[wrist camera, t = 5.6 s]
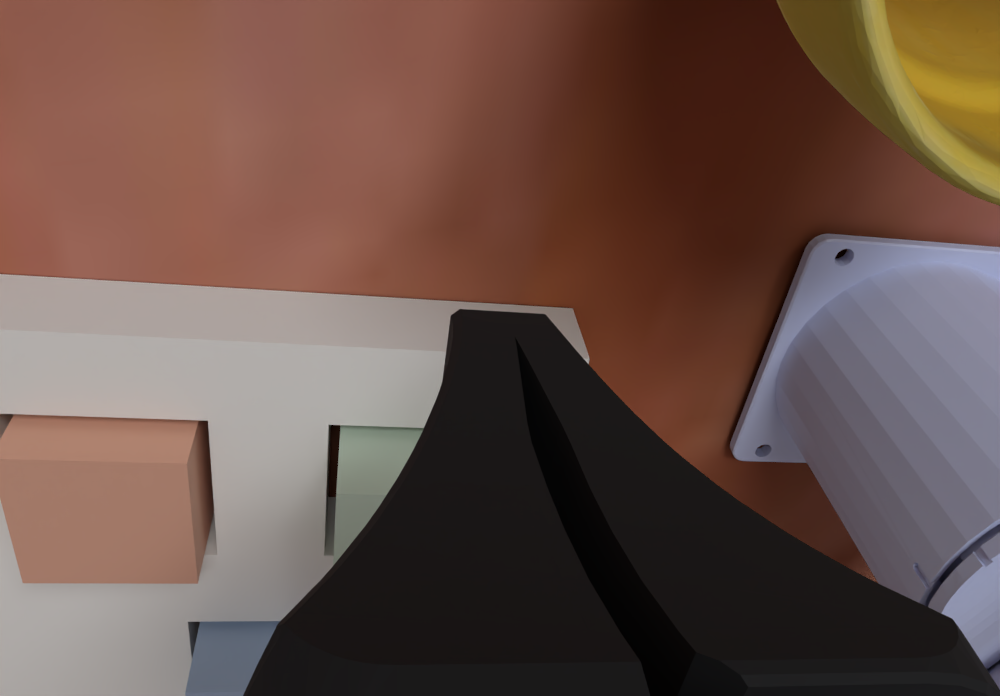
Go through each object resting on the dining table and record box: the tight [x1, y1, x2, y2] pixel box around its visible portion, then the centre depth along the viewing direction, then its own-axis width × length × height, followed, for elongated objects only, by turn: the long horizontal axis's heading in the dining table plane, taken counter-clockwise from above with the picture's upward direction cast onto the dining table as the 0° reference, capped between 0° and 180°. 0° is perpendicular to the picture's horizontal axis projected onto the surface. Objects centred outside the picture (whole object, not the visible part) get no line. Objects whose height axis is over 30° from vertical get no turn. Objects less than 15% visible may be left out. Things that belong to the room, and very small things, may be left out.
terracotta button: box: [0, 414, 214, 584], centre depth 23 cm, size 4×4×3 cm
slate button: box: [185, 621, 280, 696], centre depth 27 cm, size 4×4×3 cm
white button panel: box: [0, 274, 590, 696], centre depth 26 cm, size 18×18×2 cm
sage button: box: [333, 425, 424, 565], centre depth 23 cm, size 4×4×3 cm
